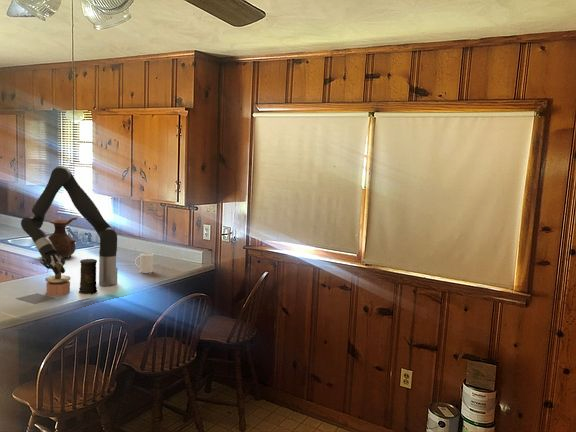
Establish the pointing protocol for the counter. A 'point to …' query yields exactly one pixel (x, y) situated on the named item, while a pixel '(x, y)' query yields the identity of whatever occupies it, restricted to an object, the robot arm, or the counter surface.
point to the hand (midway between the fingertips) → (60, 273)
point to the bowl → (58, 288)
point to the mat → (36, 298)
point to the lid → (57, 277)
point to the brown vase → (62, 237)
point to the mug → (145, 262)
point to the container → (88, 276)
